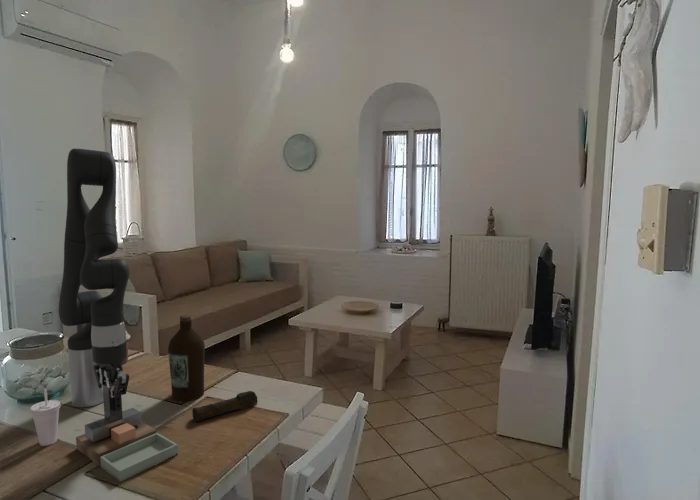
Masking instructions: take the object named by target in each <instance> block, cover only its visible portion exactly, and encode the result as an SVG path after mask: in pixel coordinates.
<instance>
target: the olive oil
mask: <svg viewBox="0 0 700 500" xmlns="http://www.w3.org/2000/svg"><path fill="white" fill-rule="evenodd" d="M179 320H180V321H179V329H178V331H177V332H175V334H174V335H173V336H172V337H171V338H170V340H169V343H168V347H167V354H168V361H169V371H170V372H169V374H170V384H171V397H172V399H174V400H175V401H181V402H187V401H189V402H190V401H194V400H196V399H199V398H202V396H203V395H204V394H205V354H206V352H205V351H206V348H205V347H206V346H205V341H204V339H203V337H202V336H201V334H199V332H197V331H196V330H195V329H194V328H193V327H192V325H193V324H192V315H189V314H184V315H183V314H182V315H180V316H179Z"/></svg>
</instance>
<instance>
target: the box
mask: <svg viewBox="0 0 700 500" xmlns="http://www.w3.org/2000/svg"><path fill="white" fill-rule="evenodd" d="M178 445H179V444H177V443H176V442H174V441H172V440H170V439H169V438H167V437H166V436H164V435H162V434H160V433H158V432H156V433H155V434H153V435H151V436H148V437H146V438H144V439H141V440H139V441H136V442H134V443H132V444H129V445H127V446H125V447H122V448H120V449H118V450H115V451H113V452H111V453H108V454H106V455H104V456H101V457H100V462H101V466H100V468H101V469H102V470H104V471H105V472H107V473H108V474H109V475H110V476H112V477H113V478H114V479H115V480H116V481H118V482H123V481H126V480H127V479H130V478H131V477H134V476H136V475H138V474H140V473H143V472H145V471H146V470H148V469H149V468H148V467H150V466H152V465H154V464H156V463H158V462H160V461H163V460H165V459H167V460H169V459H171V458H173V457H175V456H177V455H176V454H178V455H179V448H178ZM172 456H173V457H172ZM170 457H171V458H170ZM168 458H169V459H168ZM165 461H166V460H165ZM163 462H164V461H163ZM147 468H148V469H147ZM145 469H146V470H145Z"/></svg>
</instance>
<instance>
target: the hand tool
mask: <svg viewBox="0 0 700 500" xmlns="http://www.w3.org/2000/svg"><path fill="white" fill-rule="evenodd" d="M257 404H258V395H257V394H256V392H255V391H253V390H247V391H244V392H239V393H237V394H236V396H235V397H232V398H228V399H226V400H222V401H218V402H214V403H209V404H207V405H203V406H198V407H192V412H191V413H192V419H193V420H194V423H198V422H199V421H202V422H203V421H204V420H205V419H208V418H209V419H210V418H212V417H216V416H219V415H223V414H226V413H228V412H229V413H230V412H232V411H235V410H236V411H237V410H238V411H243V410H247V409H249V408H251V407H254V406H255V405H257Z"/></svg>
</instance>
